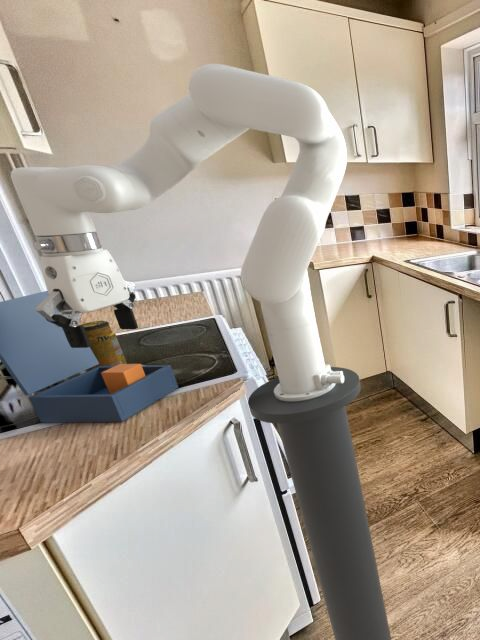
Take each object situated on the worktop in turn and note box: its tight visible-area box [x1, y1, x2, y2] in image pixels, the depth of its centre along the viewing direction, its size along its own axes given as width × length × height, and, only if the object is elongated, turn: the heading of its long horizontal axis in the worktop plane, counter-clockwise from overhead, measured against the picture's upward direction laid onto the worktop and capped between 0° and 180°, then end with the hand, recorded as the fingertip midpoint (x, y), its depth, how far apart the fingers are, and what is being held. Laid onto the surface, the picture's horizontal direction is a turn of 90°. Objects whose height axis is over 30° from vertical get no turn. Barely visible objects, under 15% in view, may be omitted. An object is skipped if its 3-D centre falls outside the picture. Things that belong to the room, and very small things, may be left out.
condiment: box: [80, 320, 144, 370], centre depth 96 cm, size 7×8×12 cm
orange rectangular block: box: [101, 363, 145, 394], centre depth 82 cm, size 4×4×7 cm
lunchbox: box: [28, 364, 179, 424], centre depth 83 cm, size 16×14×5 cm
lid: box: [0, 290, 99, 396], centre depth 79 cm, size 16×14×5 cm
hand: (106, 337), depth 79 cm, fingers open, 9 cm apart
